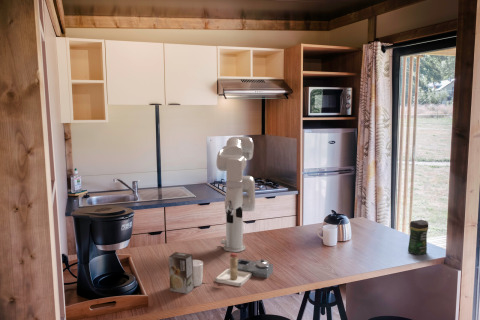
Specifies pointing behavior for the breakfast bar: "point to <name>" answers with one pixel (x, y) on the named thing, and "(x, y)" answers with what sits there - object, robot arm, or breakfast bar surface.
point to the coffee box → (181, 272)
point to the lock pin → (233, 266)
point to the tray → (241, 279)
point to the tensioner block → (255, 267)
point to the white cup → (197, 272)
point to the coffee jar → (418, 237)
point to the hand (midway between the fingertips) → (234, 220)
